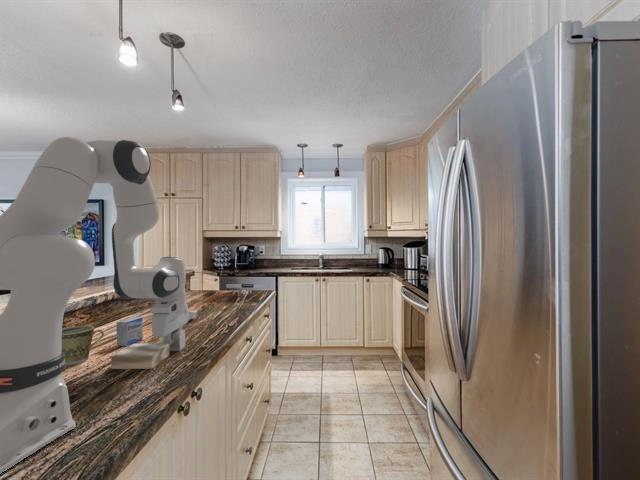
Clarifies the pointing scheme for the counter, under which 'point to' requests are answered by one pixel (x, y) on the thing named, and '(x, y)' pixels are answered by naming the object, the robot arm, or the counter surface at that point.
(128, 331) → the medicine box
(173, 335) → the block
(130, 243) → the robot arm
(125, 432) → the counter surface
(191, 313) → the spoon rest
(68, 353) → the ceramic cup
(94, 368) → the counter surface
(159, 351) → the stand
